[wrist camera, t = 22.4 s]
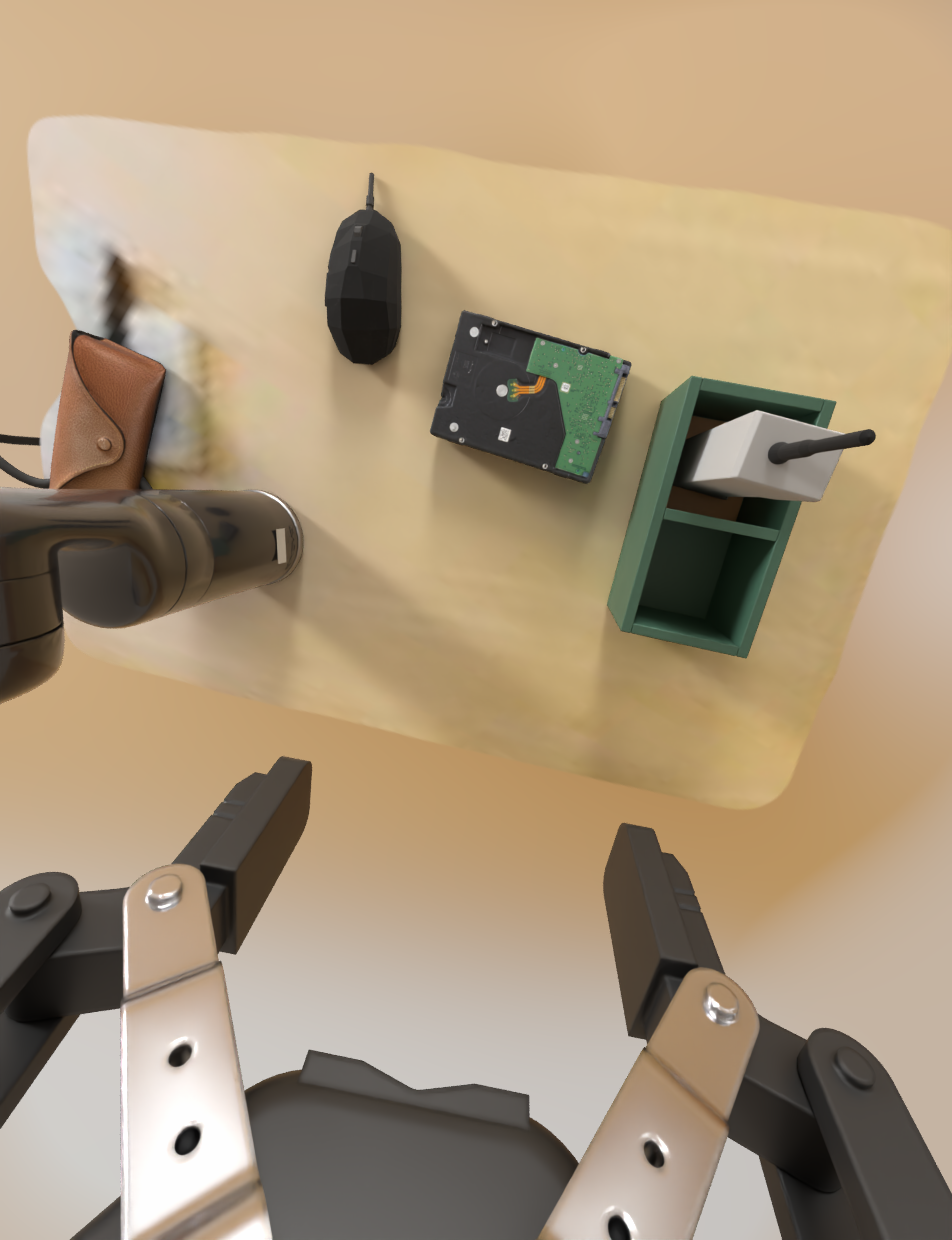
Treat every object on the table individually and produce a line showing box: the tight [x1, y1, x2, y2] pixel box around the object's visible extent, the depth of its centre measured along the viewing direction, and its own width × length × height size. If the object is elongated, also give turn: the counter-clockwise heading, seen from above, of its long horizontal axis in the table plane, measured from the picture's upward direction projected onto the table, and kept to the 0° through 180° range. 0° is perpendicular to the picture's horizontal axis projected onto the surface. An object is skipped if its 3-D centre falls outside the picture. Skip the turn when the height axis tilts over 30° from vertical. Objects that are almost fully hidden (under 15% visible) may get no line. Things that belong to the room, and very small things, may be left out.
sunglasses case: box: [49, 330, 166, 490], centre depth 50 cm, size 18×7×7 cm, turn 160°
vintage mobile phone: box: [673, 410, 876, 502], centre depth 32 cm, size 4×5×25 cm
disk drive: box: [430, 310, 631, 484], centre depth 45 cm, size 10×3×15 cm
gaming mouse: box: [325, 173, 401, 364], centre depth 43 cm, size 6×15×4 cm, turn 175°
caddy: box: [607, 376, 836, 658], centre depth 42 cm, size 10×18×10 cm, turn 169°
